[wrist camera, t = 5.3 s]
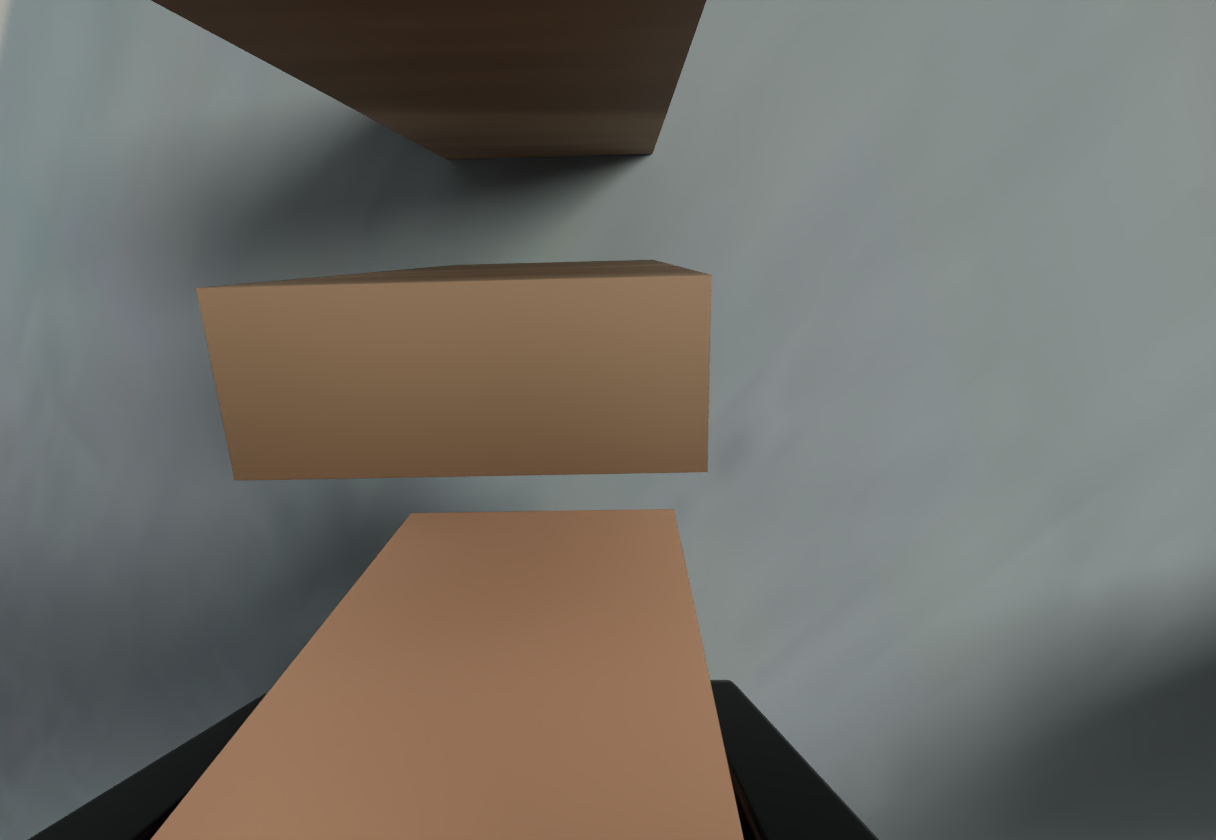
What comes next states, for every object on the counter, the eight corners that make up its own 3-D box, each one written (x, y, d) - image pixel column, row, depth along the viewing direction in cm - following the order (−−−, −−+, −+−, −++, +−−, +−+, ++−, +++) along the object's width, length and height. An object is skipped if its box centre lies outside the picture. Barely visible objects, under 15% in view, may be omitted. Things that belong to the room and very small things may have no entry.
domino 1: (439, 68, 14) (75, -305, 5) (652, 61, 14) (722, -337, 5) (447, 159, 15) (135, -8, 5) (652, 153, 15) (715, -31, 5)
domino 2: (456, 265, 16) (196, 288, 6) (652, 260, 15) (710, 274, 6) (464, 343, 16) (234, 480, 6) (653, 338, 16) (707, 471, 6)
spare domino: (411, 513, 12) (-610, 1791, 2) (674, 509, 11) (956, 1848, 2) (421, 606, 12) (-340, 1968, 2) (673, 602, 12) (891, 2023, 2)
